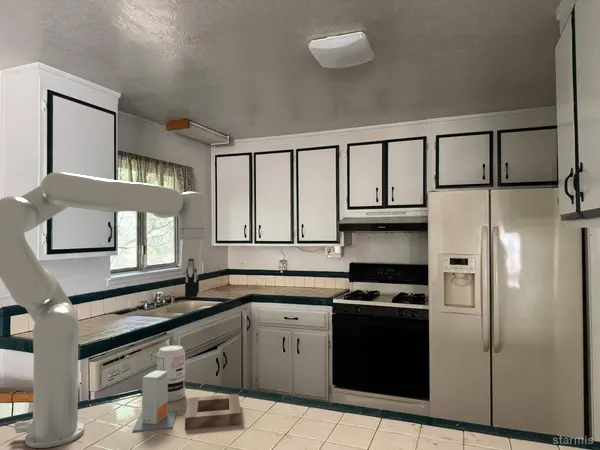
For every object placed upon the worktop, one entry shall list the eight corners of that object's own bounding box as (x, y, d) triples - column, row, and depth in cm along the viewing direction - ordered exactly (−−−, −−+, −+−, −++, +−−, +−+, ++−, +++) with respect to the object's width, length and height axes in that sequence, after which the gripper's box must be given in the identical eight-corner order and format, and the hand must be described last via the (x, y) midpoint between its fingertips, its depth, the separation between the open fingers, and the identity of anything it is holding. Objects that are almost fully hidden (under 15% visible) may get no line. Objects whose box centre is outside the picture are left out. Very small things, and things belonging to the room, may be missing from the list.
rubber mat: (132, 432, 105) (132, 430, 105) (140, 414, 116) (140, 413, 116) (172, 428, 107) (172, 426, 107) (176, 411, 117) (176, 410, 117)
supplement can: (164, 392, 133) (164, 344, 133) (189, 393, 132) (189, 345, 132) (151, 402, 125) (152, 351, 125) (178, 403, 124) (178, 351, 124)
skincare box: (156, 425, 108) (156, 377, 108) (141, 423, 109) (141, 377, 109) (168, 415, 114) (168, 370, 114) (154, 414, 115) (154, 369, 115)
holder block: (184, 429, 106) (184, 417, 106) (188, 408, 120) (188, 397, 120) (240, 424, 108) (240, 412, 109) (238, 404, 122) (238, 393, 122)
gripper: (181, 235, 129) (181, 292, 128) (175, 234, 112) (175, 299, 111) (206, 235, 130) (206, 291, 129) (204, 234, 113) (204, 298, 112)
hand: (192, 294), depth 120 cm, fingers open, 9 cm apart
